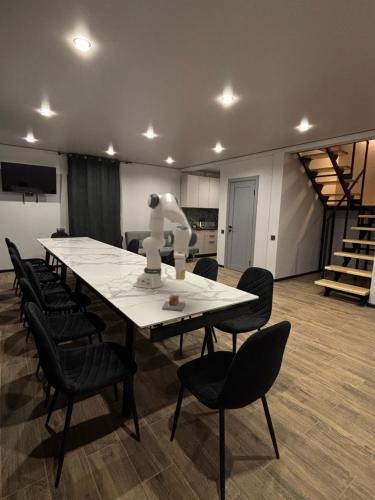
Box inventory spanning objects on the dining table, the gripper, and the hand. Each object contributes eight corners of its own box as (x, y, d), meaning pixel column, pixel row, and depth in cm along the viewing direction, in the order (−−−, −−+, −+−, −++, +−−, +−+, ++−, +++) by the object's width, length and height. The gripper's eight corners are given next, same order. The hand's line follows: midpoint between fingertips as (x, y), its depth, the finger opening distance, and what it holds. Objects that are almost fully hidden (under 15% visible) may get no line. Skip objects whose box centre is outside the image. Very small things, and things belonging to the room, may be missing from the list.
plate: (162, 309, 157) (162, 307, 157) (166, 302, 169) (166, 300, 169) (182, 310, 156) (182, 308, 156) (184, 304, 168) (184, 302, 168)
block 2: (175, 279, 159) (176, 271, 159) (176, 277, 164) (177, 269, 164) (184, 280, 159) (184, 271, 158) (185, 278, 164) (185, 270, 163)
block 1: (169, 305, 160) (169, 297, 160) (170, 303, 165) (170, 295, 164) (177, 306, 160) (177, 298, 159) (178, 303, 165) (178, 295, 164)
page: (166, 301, 172) (166, 301, 171) (168, 298, 178) (168, 297, 178) (182, 302, 170) (182, 302, 170) (183, 299, 177) (183, 298, 177)
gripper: (178, 250, 170) (177, 272, 172) (173, 255, 150) (172, 279, 152) (188, 251, 170) (187, 272, 171) (184, 256, 149) (183, 280, 151)
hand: (180, 276), depth 161 cm, fingers closed on block 2, 5 cm apart
